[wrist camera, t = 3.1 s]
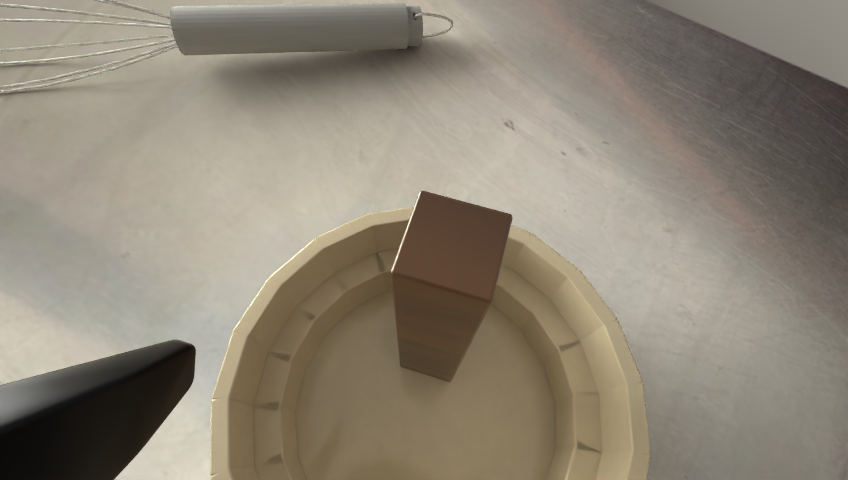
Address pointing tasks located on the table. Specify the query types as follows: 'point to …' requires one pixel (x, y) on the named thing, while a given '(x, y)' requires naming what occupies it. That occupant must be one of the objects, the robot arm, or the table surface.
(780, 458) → the table surface
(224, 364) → the bowl
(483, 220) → the stir stick
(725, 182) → the table surface
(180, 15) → the kitchen whisk
